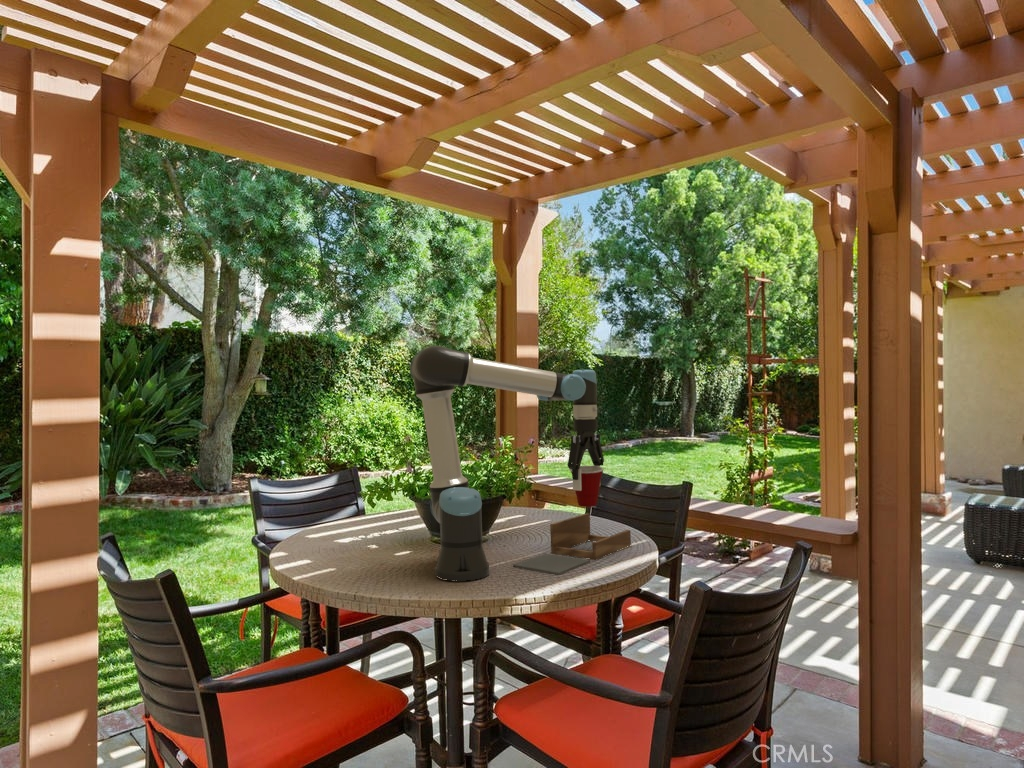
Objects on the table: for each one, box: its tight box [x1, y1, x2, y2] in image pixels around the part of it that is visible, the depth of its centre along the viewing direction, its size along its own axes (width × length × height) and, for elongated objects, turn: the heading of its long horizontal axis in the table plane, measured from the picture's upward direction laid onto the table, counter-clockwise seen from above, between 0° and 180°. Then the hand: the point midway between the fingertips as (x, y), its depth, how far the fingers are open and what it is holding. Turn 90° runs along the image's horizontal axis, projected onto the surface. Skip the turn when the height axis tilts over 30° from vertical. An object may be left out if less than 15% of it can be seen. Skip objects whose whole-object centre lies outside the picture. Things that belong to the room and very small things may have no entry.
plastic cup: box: [569, 465, 605, 508], centre depth 207 cm, size 11×11×12 cm
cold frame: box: [549, 513, 632, 560], centre depth 208 cm, size 16×21×9 cm
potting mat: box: [512, 553, 591, 576], centre depth 190 cm, size 16×16×1 cm
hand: (586, 488), depth 207 cm, fingers closed on plastic cup, 11 cm apart
